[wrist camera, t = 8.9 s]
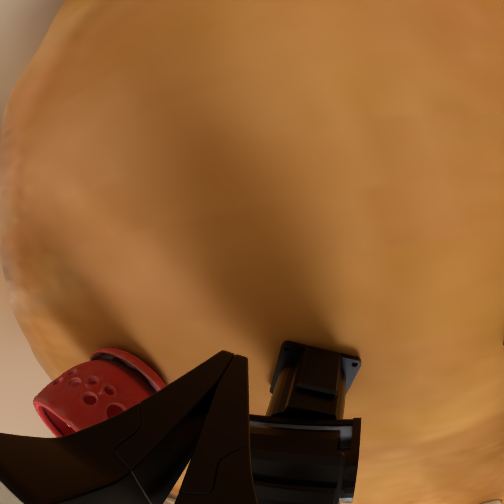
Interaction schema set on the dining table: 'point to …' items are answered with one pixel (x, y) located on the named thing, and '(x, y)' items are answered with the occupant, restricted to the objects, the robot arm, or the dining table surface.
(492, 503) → the candlestick
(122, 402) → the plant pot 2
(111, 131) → the dining table surface
